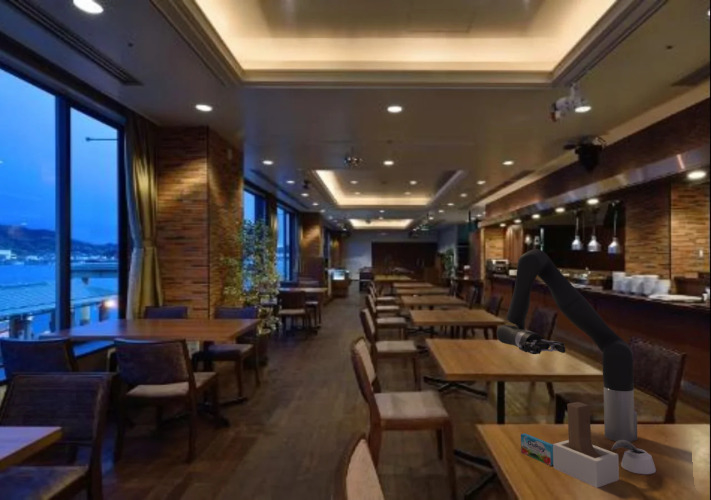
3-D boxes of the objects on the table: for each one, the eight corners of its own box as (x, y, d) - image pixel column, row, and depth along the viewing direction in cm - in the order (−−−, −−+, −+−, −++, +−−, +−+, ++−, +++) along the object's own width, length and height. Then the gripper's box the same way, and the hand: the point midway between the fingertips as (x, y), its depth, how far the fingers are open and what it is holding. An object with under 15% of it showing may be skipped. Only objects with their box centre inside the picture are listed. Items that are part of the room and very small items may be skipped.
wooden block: (605, 473, 143) (602, 409, 143) (592, 476, 141) (590, 411, 141) (580, 461, 151) (578, 401, 151) (569, 463, 150) (566, 403, 150)
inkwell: (662, 469, 149) (661, 435, 149) (630, 486, 138) (629, 450, 138) (630, 459, 156) (629, 426, 156) (598, 474, 146) (597, 440, 146)
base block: (574, 462, 155) (574, 438, 155) (618, 480, 142) (618, 454, 142) (553, 469, 151) (553, 444, 151) (596, 488, 138) (596, 461, 138)
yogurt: (554, 465, 153) (554, 445, 153) (551, 466, 152) (550, 446, 152) (524, 451, 163) (524, 432, 163) (521, 452, 163) (520, 433, 163)
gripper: (510, 332, 182) (531, 339, 166) (547, 330, 184) (571, 338, 168) (510, 352, 182) (531, 362, 166) (548, 351, 184) (572, 360, 168)
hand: (551, 350), depth 167 cm, fingers open, 8 cm apart
